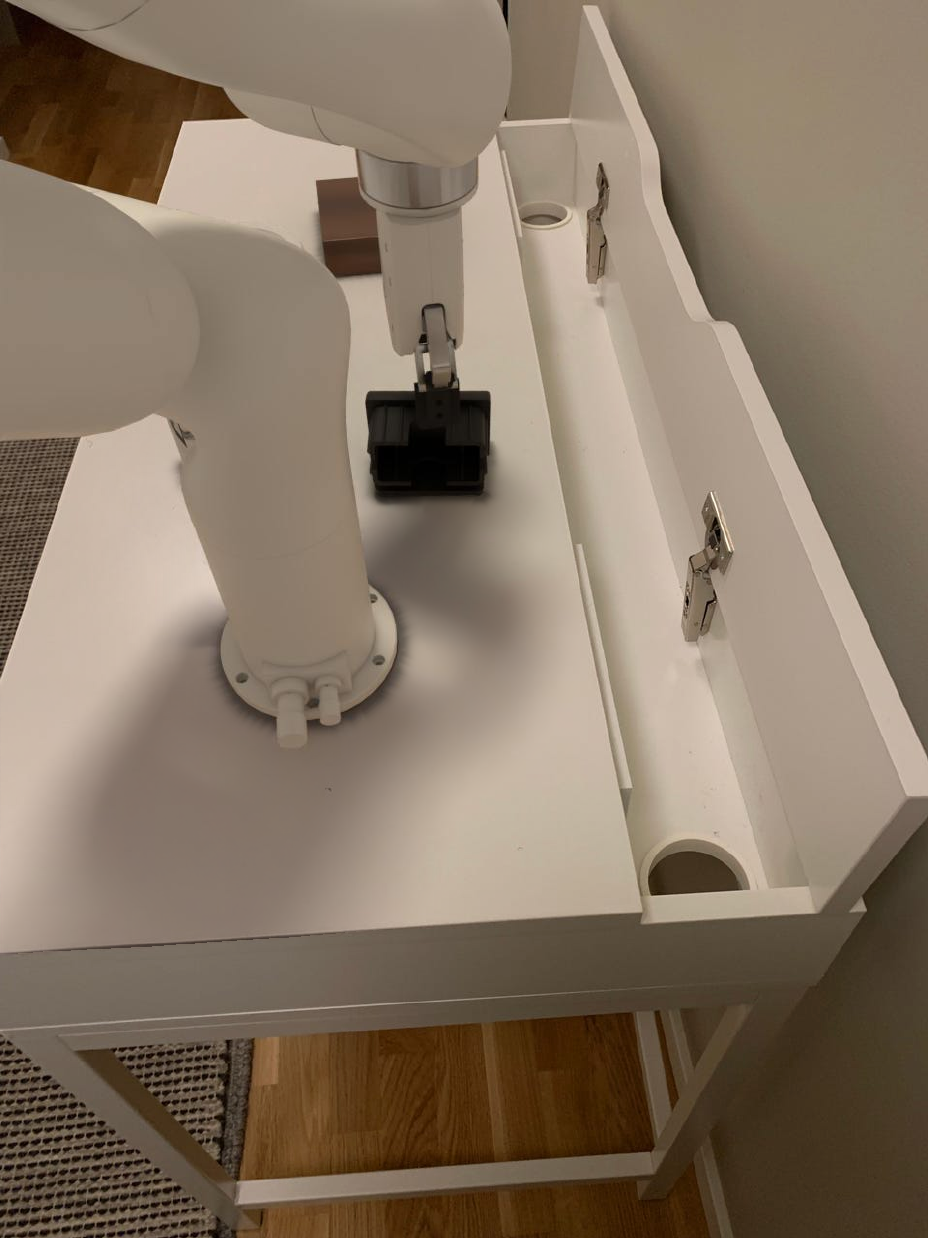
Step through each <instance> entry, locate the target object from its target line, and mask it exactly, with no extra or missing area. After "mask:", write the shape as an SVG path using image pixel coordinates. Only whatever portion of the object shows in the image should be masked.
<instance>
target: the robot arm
mask: <svg viewBox="0 0 928 1238" xmlns="http://www.w3.org/2000/svg"><path fill="white" fill-rule="evenodd" d="M4 1H5V2H8V3H10V4H11V5H13V6H17V7H18V8H20V9H22V10H24V11H27V12H29V13H30V14H33V15H35V16H36V17H39V19H41V20H42V21H45V22H46V23H48V24H50V25H53V26H55V27H57V28H59V29H61V30H63V31H65V32H68V34H71V35H73V36H75V37H77V38H79V39H82V40H83V41H86V42H88V43H89V44H92V45H94V46H95V47H98V48H100V49H103V50H105V51H108V52H110V53H112V54H114V55H117V56H119V57H120V58H123V59H125V60H129V61H131V62H135V63H138V64H141V65H145V66H148V67H151V68H154V69H157V70H160V71H163V72H167V73H169V74H172V75H175V76H178V77H182V78H185V79H188V80H192V81H196V82H199V83H203V84H207V85H210V86H215V87H219V88H222V89H223V91H224V92H225V93H226V96H227V97H228V99H229V100H230V102H231V103H232V105H234V107H235V108H237V109H238V110H239V111H240V112H241V113H242V114H243V115H244V116H246V117H247V118H248V119H250V120H251V121H253V122H255V123H257V124H259V125H261V126H263V127H264V128H267V129H269V130H273V131H276V132H278V133H283V134H285V135H290V136H295V137H300V138H304V139H307V140H308V139H309V140H313V141H316V142H321V143H325V144H330V145H335V146H339V147H341V146H344V147H347V148H351V149H354V155H355V163H356V172H357V177H358V181H359V190H360V193H361V196H362V197H363V199H364V200H365V201H366V202H367V203H368V204H369V205H370V206H372V207H374V208H375V209H376V216H377V229H378V240H379V250H380V260H381V270H382V272H381V282H382V291H383V292H382V293H383V299H384V305H385V312H386V317H387V323H388V328H389V334H390V341H391V345H392V349H393V351H394V352H395V353H396V355H397V356H400V357H404V356H412V355H414V363H415V371H416V372H415V373H416V380H417V382H416V381H415V382H413V391H414V392H415V405H416V418H417V425H418V428H420V429H428V428H436V427H445V426H453V425H458V424H459V423H460V391H461V388H460V387H461V385H460V384H461V382H460V378H459V377H458V372H457V361H456V360H457V359H456V352H455V351H457V350H459V348H460V347H461V346H462V345H463V343H464V333H465V331H464V329H465V319H464V318H465V284H464V282H465V279H464V238H463V214H462V213H463V212H462V207H463V206H465V205H466V204H467V203H469V202H470V201H471V200H472V199H473V198H474V197H475V195H476V194H477V191H478V188H479V156H480V154H482V153H483V152H484V151H485V150H486V148H487V147H488V146H489V145H490V143H491V142H492V141H493V139H494V138H495V136H496V134H497V133H498V130H499V129H500V126H501V124H502V122H503V120H504V117H505V114H506V110H507V107H508V103H509V99H510V92H511V87H512V73H513V67H512V66H513V63H512V62H513V60H512V49H511V42H510V41H511V40H510V35H509V31H508V27H507V23H506V20H505V17H504V14H503V11H502V9H501V6H500V3H499V2H498V0H4ZM235 223H236V222H232V221H231V222H230V221H226V220H223V219H219V218H215V217H211V216H207V215H203V214H199V213H196V212H191V211H189V210H183V209H180V208H176V209H175V208H173V207H172V208H171V207H169V206H168V207H167V206H164V205H161V204H156V203H152V202H148V201H145V200H140V199H137V198H132V197H129V196H125V195H121V194H118V193H114V192H110V191H107V190H103V189H98V188H94V187H90V186H87V185H84V184H80V183H75V182H71V181H68V180H65V179H62V178H59V177H58V176H54V175H51V174H49V173H45V172H43V171H40V170H36V169H33V168H31V167H28V166H25V165H21V164H18V163H14V162H12V161H8V160H5V159H1V158H0V442H8V441H9V442H10V441H11V442H12V441H27V440H28V441H29V440H40V439H41V440H43V439H45V440H47V439H73V438H74V439H75V438H84V437H85V438H86V437H89V436H94V435H99V434H106V433H110V432H111V433H112V432H115V431H117V430H120V429H123V428H125V427H127V426H130V425H132V424H135V423H138V422H140V421H142V420H144V419H146V418H147V417H149V416H151V415H157V416H160V417H163V418H165V419H167V418H168V419H170V420H172V421H174V422H176V423H178V424H180V425H181V426H183V427H184V428H186V429H187V430H189V431H190V432H191V433H192V434H193V436H194V437H195V440H194V442H193V443H192V445H191V446H190V448H189V449H188V451H187V453H186V456H185V458H184V461H183V462H182V464H181V468H180V469H181V470H180V487H181V493H182V497H183V500H184V504H185V507H186V510H187V514H188V515H189V518H190V520H191V521H190V522H191V523H192V525H193V528H194V529H195V532H196V535H197V538H198V541H199V542H200V545H201V548H202V551H203V553H204V556H205V559H206V561H207V564H208V567H209V569H210V571H211V574H212V578H213V580H214V583H215V585H216V588H217V591H218V593H219V596H220V598H221V601H222V604H223V606H224V609H225V611H226V614H227V617H228V620H227V621H226V624H225V626H224V628H223V630H222V631H223V632H222V635H221V639H220V660H221V664H222V668H223V672H224V674H225V677H226V678H227V681H228V682H229V684H230V686H231V687H232V689H233V690H234V691H235V693H236V694H237V696H239V697H240V698H241V699H242V700H243V701H244V702H245V703H246V704H247V705H248V706H251V707H252V708H254V709H255V710H257V711H259V712H261V713H264V714H266V715H270V716H272V717H274V718H276V743H277V745H278V747H281V748H282V749H288V750H293V749H294V750H295V749H300V748H302V747H304V746H305V745H306V744H308V723H307V722H308V721H312V720H313V721H314V720H318V719H319V723H320V724H321V725H323V726H335V725H338V724H340V722H341V720H342V715H341V713H343V712H346V711H348V710H350V709H351V708H353V707H355V706H357V705H359V704H360V703H362V702H363V701H365V700H366V699H367V698H368V697H370V696H371V695H372V694H373V693H375V691H376V690H377V689H378V688H379V687H380V686H381V685H382V683H383V682H384V681H385V680H386V678H387V676H388V675H389V672H391V669H392V667H393V664H394V661H395V659H396V656H397V651H398V650H397V648H398V632H397V623H396V620H395V616H394V613H393V611H392V609H391V607H390V605H389V603H388V602H387V600H386V599H385V598H384V597H383V595H382V594H381V593H380V592H379V590H377V589H375V588H374V587H373V586H372V585H371V584H369V579H368V572H367V567H366V560H365V552H364V547H363V546H364V545H363V539H362V533H361V526H360V521H359V520H360V519H359V514H358V513H359V512H358V506H357V499H356V493H355V492H356V491H355V486H354V481H353V476H352V475H353V474H352V468H351V461H350V452H349V443H348V431H347V429H348V428H347V394H348V393H347V390H348V377H349V366H350V357H351V356H350V355H351V343H352V341H351V339H352V326H351V325H352V324H351V314H350V308H349V304H348V300H347V297H346V295H345V292H344V290H343V288H342V286H341V284H340V282H339V281H338V279H337V278H336V276H334V275H333V274H332V273H331V272H330V271H329V269H328V268H327V267H326V265H325V263H322V261H321V260H320V259H318V258H317V257H315V256H314V255H313V254H311V253H310V252H308V251H306V249H305V248H304V249H302V248H300V247H298V246H296V245H295V244H293V243H290V242H288V241H286V240H283V239H281V238H279V237H277V236H274V235H272V234H269V233H266V232H263V231H260V230H257V229H254V228H250V227H246V226H243V225H239V224H235ZM424 354H428V356H429V369H430V370H426V369H425V361H424ZM425 370H426V371H425Z"/></svg>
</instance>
